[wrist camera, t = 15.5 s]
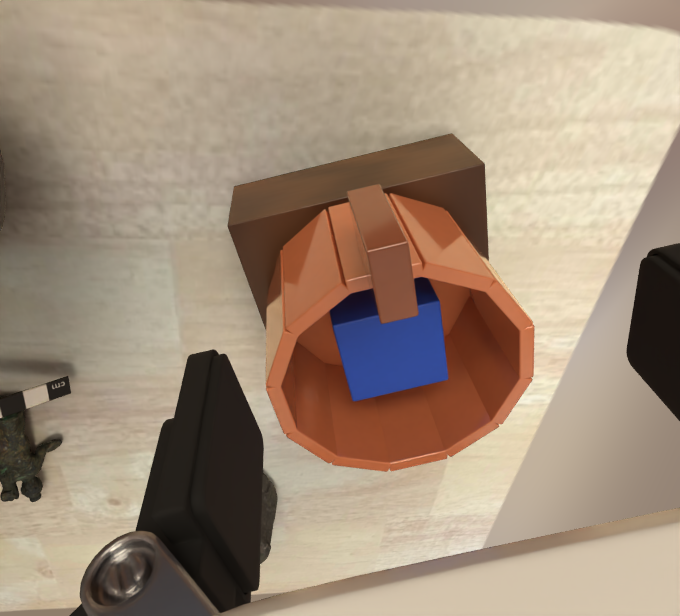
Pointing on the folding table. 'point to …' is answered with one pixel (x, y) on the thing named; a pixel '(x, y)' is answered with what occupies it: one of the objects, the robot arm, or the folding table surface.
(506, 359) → the orange stave bucket
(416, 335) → the cube
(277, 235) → the stand
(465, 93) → the folding table surface
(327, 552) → the folding table surface
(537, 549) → the robot arm
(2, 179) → the grey scuffed sphere
